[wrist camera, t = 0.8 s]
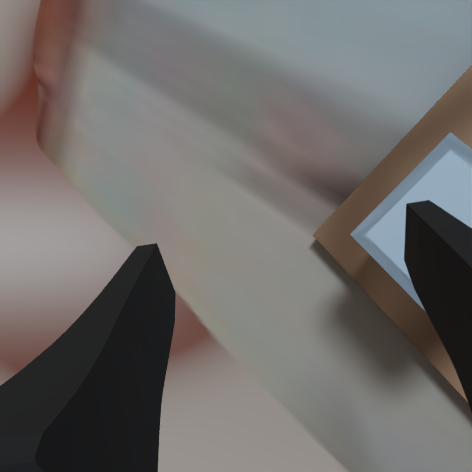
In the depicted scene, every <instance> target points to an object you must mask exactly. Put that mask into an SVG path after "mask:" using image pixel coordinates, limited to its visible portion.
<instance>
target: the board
mask: <svg viewBox="0 0 472 472" xmlns="http://www.w3.org/2000/svg"><path fill="white" fill-rule="evenodd" d="M450 132H451V133H452V134H454V135H455V136H456V137H457V138H459V139H460V140H461V141H462V142H464V143H465V144H466V145H467V146H469V147H470V148H471V149H472V65H471V66H470V68H469V69H468V70H467V71H466V72H465V73H464V74H463V75H462V76H461V77H460V78H459V79H458V80H457V81H456V82H455V84H454V85H453V86H452V87H451V88H450V89H449V90H448V91H447V92H446V93H445V94H444V95H443V96H442V97H441V98H440V100H439V101H438V102H437V103H436V104H435V105H434V106H433V107H432V108H431V109H430V110H429V111H428V112H427V113H426V115H425V116H424V117H423V118H422V119H421V120H420V121H419V122H418V123H417V124H416V125H415V126H414V127H413V128H412V129H411V131H410V132H409V133H408V134H407V135H406V136H405V137H404V138H403V139H402V140H401V141H400V142H399V143H398V144H397V145H396V147H395V148H394V149H393V150H392V151H391V152H390V153H389V154H388V155H387V156H386V157H385V158H384V159H383V160H382V162H381V163H380V164H379V165H378V166H377V167H376V168H375V169H374V170H373V171H372V172H371V173H370V174H369V175H368V176H367V178H366V179H365V180H364V181H363V182H362V183H361V184H360V185H359V186H358V187H357V188H356V189H355V190H354V191H353V192H352V194H351V195H350V196H349V197H348V198H347V199H346V200H345V201H344V202H343V203H342V204H341V205H340V206H339V207H338V209H337V210H336V211H335V212H334V213H333V214H332V215H331V216H330V217H329V218H328V219H327V220H326V221H325V222H324V223H323V225H322V226H321V227H320V228H319V229H318V230H317V231H316V232H315V233H314V234H313V236H314V237H315V238H316V239H317V241H318V242H319V243H320V244H321V245H322V246H323V247H324V248H325V249H326V250H327V251H328V252H329V253H330V255H331V256H332V257H333V258H334V259H335V260H336V261H337V262H338V263H339V264H340V265H341V266H342V267H343V269H344V270H345V271H346V272H347V273H348V274H349V275H350V276H351V277H352V278H353V279H354V280H355V281H356V282H357V284H358V285H359V286H360V287H361V288H362V289H363V290H364V291H365V292H366V293H367V294H368V295H369V296H370V298H371V299H372V300H373V301H374V302H375V303H376V304H377V305H378V306H379V307H380V308H381V309H382V310H383V312H384V313H385V314H386V315H387V316H388V317H389V318H390V319H391V320H392V321H393V322H394V323H395V324H396V326H397V327H398V328H399V329H400V330H401V331H402V332H403V333H404V334H405V335H406V336H407V337H408V338H409V340H410V341H411V342H412V343H413V344H414V345H415V346H416V347H417V348H418V349H419V350H420V351H421V352H422V354H423V355H424V356H425V357H426V358H427V359H428V360H429V361H430V362H431V363H432V364H433V365H434V366H435V368H436V369H437V370H438V371H439V372H440V373H441V374H442V375H443V376H444V377H445V378H446V379H447V380H448V382H449V383H450V384H451V385H452V386H453V387H454V388H455V389H456V390H457V391H458V392H459V393H460V394H461V396H462V397H463V398H464V399H465V400H466V401H467V398H466V396H465V393H464V390H463V388H462V385H461V383H460V380H459V378H458V375H457V373H456V370H455V368H454V366H453V363H452V361H451V359H450V357H449V355H448V353H447V351H446V349H445V347H444V345H443V343H442V341H441V340H440V338H439V336H438V334H437V332H436V330H435V328H434V326H433V324H432V322H431V321H430V319H429V317H428V315H427V313H426V312H425V311H424V310H423V309H422V307H421V306H420V305H419V304H418V303H417V302H416V301H415V300H414V299H413V298H412V297H411V296H410V295H409V294H408V293H407V292H406V291H405V290H404V289H403V288H402V287H401V286H400V285H399V284H398V283H397V282H396V281H395V280H394V279H393V278H392V277H391V276H390V275H389V274H388V273H387V272H386V271H385V270H384V269H383V268H382V266H381V265H380V264H379V263H378V262H377V261H376V260H375V259H374V258H373V257H372V256H371V255H370V254H369V253H368V252H367V251H366V250H365V249H364V248H363V247H362V246H361V245H360V244H359V243H358V242H357V241H356V240H355V239H354V238H353V237H352V236H351V235H350V234H351V233H352V232H353V231H354V230H355V229H356V228H357V227H358V226H359V225H360V224H361V223H362V222H363V221H364V220H365V219H366V218H367V217H368V215H369V214H370V213H371V212H372V211H373V210H374V209H375V208H376V207H377V206H378V205H379V204H380V203H381V202H382V201H383V200H384V199H385V198H386V197H387V196H388V195H389V194H390V193H391V192H392V191H393V190H394V189H395V188H396V187H397V186H398V185H399V184H400V183H401V182H402V181H403V180H404V179H405V178H406V177H407V176H408V175H409V174H410V173H411V172H412V171H413V170H414V169H415V168H416V167H417V166H418V164H419V163H420V162H421V161H422V160H423V159H424V158H425V157H426V156H427V155H428V154H429V153H430V152H431V151H432V150H433V149H434V148H435V147H436V146H437V145H438V144H439V143H440V142H441V141H442V140H443V139H444V138H445V137H446V136H447V135H448V134H449V133H450ZM467 402H468V401H467Z"/></svg>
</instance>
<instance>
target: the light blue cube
mask: <svg viewBox="0 0 472 472" xmlns="http://www.w3.org/2000/svg"><path fill="white" fill-rule="evenodd" d="M426 200H430V201H431V202H433V203H434V204H436V205H438V206H439V207H441V208H442V209H444V210H445V211H446V212H448V213H449V214H451V215H452V216H454V217H455V218H457V219H458V220H460V221H461V222H463V223H464V224H466V225H467V226H469V227H471V228H472V149H471V148H470V147H469V146H467V145H466V144H465V143H464V142H462V141H461V140H460V139H459V138H457V137H456V136H455V135H454V134H452V133H451V132H450V133H449V134H448V135H447V136H446V137H445V138H444V139H443V140H442V141H441V142H440V143H439V144H438V145H437V146H436V147H435V148H434V149H433V150H432V151H431V152H430V153H429V154H428V155H427V156H426V157H425V158H424V159H423V160H422V161H421V162H420V163H419V164H418V166H417V167H416V168H415V169H414V170H413V171H412V172H411V173H410V174H409V175H408V176H407V177H406V178H405V179H404V180H403V181H402V182H401V183H400V184H399V185H398V186H397V187H396V188H395V189H394V190H393V191H392V192H391V193H390V194H389V195H388V196H387V197H386V198H385V199H384V200H383V201H382V202H381V203H380V204H379V205H378V206H377V207H376V208H375V209H374V210H373V211H372V212H371V213H370V214H369V215H368V217H367V218H366V219H365V220H364V221H363V222H362V223H361V224H360V225H359V226H358V227H357V228H356V229H355V230H354V231H353V232H352V233H351V234H350V235H351V236H352V237H353V238H354V239H355V240H356V241H357V242H358V243H359V244H360V245H361V246H362V247H363V248H364V249H365V250H366V251H367V252H368V253H369V254H370V255H371V256H372V257H373V258H374V259H375V260H376V261H377V262H378V263H379V264H380V265H381V266H382V268H383V269H384V270H385V271H386V272H387V273H388V274H389V275H390V276H391V277H392V278H393V279H394V280H395V281H396V282H397V283H398V284H399V285H400V286H401V287H402V288H403V289H404V290H405V291H406V292H407V293H408V294H409V295H410V296H411V297H412V298H413V299H414V300H415V301H416V302H417V303H418V304H419V305H420V306H421V307H422V309H423V310H424V311H425V309H424V307H423V305H422V303H421V301H420V299H419V297H418V295H417V293H416V291H415V289H414V287H413V284H412V281H411V279H410V276H409V273H408V270H407V267H406V264H405V261H404V247H405V223H406V204H407V203H413V202H419V201H426ZM425 312H426V311H425Z"/></svg>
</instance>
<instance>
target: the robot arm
mask: <svg viewBox="0 0 472 472" xmlns="http://www.w3.org/2000/svg"><path fill="white" fill-rule="evenodd" d="M404 261H405V264H406V267H407V270H408V273H409V276H410V279H411V281H412V284H413V287H414V289H415V291H416V293H417V295H418V297H419V299H420V301H421V303H422V305H423V307H424V309H425V311H426V313H427V315H428V317H429V319H430V321H431V322H432V324H433V326H434V328H435V330H436V332H437V334H438V336H439V338H440V340H441V341H442V343H443V345H444V347H445V349H446V351H447V353H448V355H449V357H450V359H451V361H452V363H453V366H454V368H455V370H456V373H457V375H458V378H459V380H460V383H461V385H462V388H463V390H464V393H465V396H466V398H467V401H468V403H469V406H470V409H471V412H472V228H471V227H469V226H467V225H466V224H464V223H463V222H461V221H460V220H458V219H457V218H455V217H454V216H452V215H451V214H449V213H448V212H446V211H445V210H444V209H442V208H441V207H439V206H438V205H436V204H434V203H433V202H431V201H430V200H426V201H419V202H413V203H407V204H406V223H405V247H404ZM174 322H175V290H174V288H173V285H172V282H171V280H170V277H169V274H168V272H167V269H166V267H165V264H164V261H163V259H162V256H161V253H160V251H159V248H158V245H157V243H156V244H149V245H143V246H137V247H136V248H135V250H134V251H133V252H132V253H131V255H130V256H129V257H128V259H127V260H126V261H125V263H124V264H123V265H122V267H121V268H120V269H119V270H118V272H117V273H116V274H115V276H114V277H113V278H112V279H111V281H110V282H109V283H108V284H107V286H106V287H105V288H104V289H103V291H102V292H101V293H100V294H99V296H98V297H97V298H96V299H95V300H94V301H93V302H92V303H91V305H90V306H89V307H88V308H87V309H86V310H85V311H84V313H83V314H82V315H81V316H80V317H79V318H78V319H77V320H76V321H75V322H74V323H73V324H72V325H71V326H70V328H68V330H67V331H66V332H65V333H63V334H62V335H61V336H60V337H59V338H58V339H57V340H56V341H55V342H54V343H53V344H52V345H51V346H50V347H48V348H47V349H46V350H45V351H44V352H42V353H41V354H40V355H39V356H38V357H36V358H35V359H34V360H33V361H32V362H30V363H29V364H28V365H27V366H26V367H25V368H23V369H22V370H21V371H20V372H18V373H17V374H16V375H14V376H13V377H12V378H10V379H9V380H8V381H6V382H5V383H4V384H2V385H1V386H0V472H158V448H159V430H160V414H161V402H162V393H163V387H164V381H165V375H166V370H167V364H168V358H169V352H170V347H171V341H172V335H173V328H174Z"/></svg>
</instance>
